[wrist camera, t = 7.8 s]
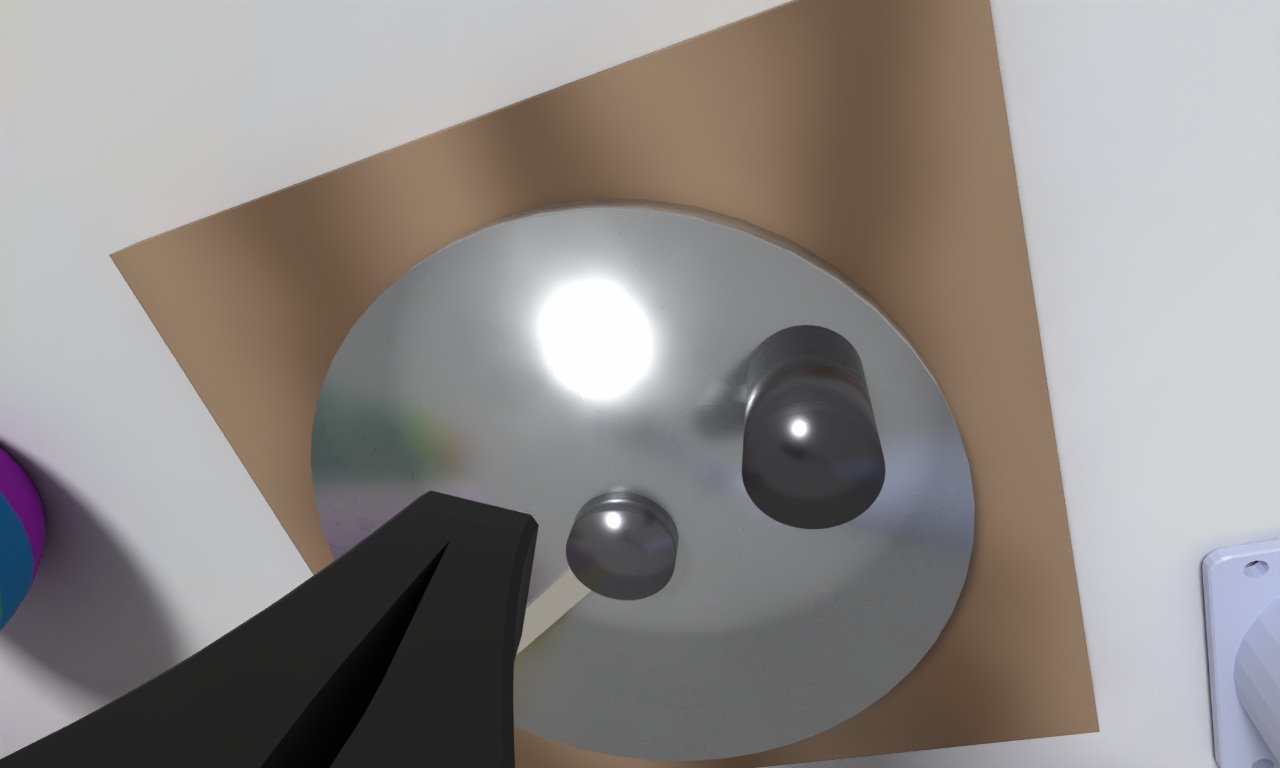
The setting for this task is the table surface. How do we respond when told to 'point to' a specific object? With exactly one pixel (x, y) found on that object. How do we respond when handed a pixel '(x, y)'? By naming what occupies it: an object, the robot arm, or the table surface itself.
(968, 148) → the dial plate
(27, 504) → the decorative egg
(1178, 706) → the table surface
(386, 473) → the dial
